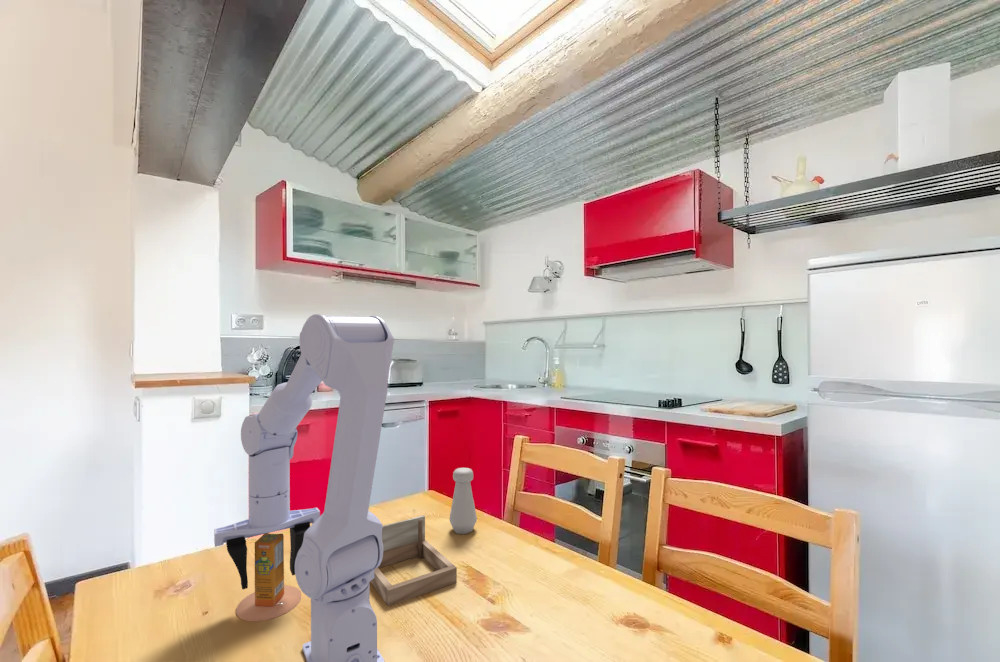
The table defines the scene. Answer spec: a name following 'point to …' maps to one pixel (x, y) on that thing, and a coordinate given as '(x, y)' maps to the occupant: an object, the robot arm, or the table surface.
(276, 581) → the supplement box
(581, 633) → the table surface
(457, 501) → the salt shaker
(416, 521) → the brown open rectangular frame
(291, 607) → the saucer
